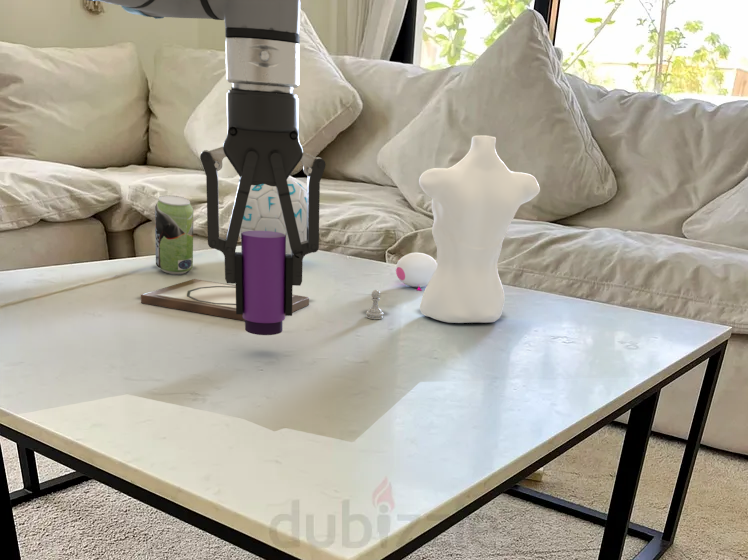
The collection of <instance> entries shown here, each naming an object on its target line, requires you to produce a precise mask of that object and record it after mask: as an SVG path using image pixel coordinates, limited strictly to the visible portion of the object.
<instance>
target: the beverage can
mask: <svg viewBox="0 0 748 560" xmlns="http://www.w3.org/2000/svg"><path fill="white" fill-rule="evenodd" d="M154 226H155V228H154V233H155V235H154V236H155V241H154V242H155V265H156V266H157V268H159V269H160V270H161V271H162V272H164V273H166V274H169V275H183V274H187V272H188V271H190V270H192V269H193V267H194V208H193V206H192V204H191V201H190V200H189V198H186V197H184V196H179V195H172V194H171V195H168V194H167V195H161V196H159V197H158V201H157V202H156V203H155V206H154Z"/></svg>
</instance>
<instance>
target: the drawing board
mask: <svg viewBox="0 0 748 560" xmlns="http://www.w3.org/2000/svg"><path fill="white" fill-rule="evenodd" d="M140 303H142V304H144V305H151V306H156V307H161V308H168V309H174V310H179V311H186V312H191V313H196V314H203V315H208V316H214V317H219V318H226V319H232V320H238V321H242V322H245V319H243V317H242V315H241V314H236V284H231V283H222V282H216V281H210V280H204V279H199V278H192V279H189V280H185V281H182V282H179V283H175V284H172V285H168V286H166V287H161V288H159V289H156V290H152V291H149V292H146V293H142V294H140ZM309 305H310V297H309V296H304V295H298V294H292V313H294V312H296V311H299V310H301V309H303V308H305V307H307V306H309Z"/></svg>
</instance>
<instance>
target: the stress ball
mask: <svg viewBox="0 0 748 560" xmlns="http://www.w3.org/2000/svg"><path fill="white" fill-rule="evenodd" d="M436 268H437V260H436V259H434V257H432V256H431V255H429V254H427V253H424V252H410V253H407V254H405V255H403V256H402V257H401V258H398V261H397V262H396V264H395V275H396V277H397V279H398V280H399V281H400V282H401V283H402V284H404V285H406V286H408V287H412V288H417V289H416V291H423V289H421V288H423V287H424V288H425V287H426V286H427V285H428V283H429V281H430V279H431V278H432V276H433V274H434V272H435V270H436Z"/></svg>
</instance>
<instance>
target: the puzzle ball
mask: <svg viewBox="0 0 748 560" xmlns="http://www.w3.org/2000/svg"><path fill="white" fill-rule="evenodd" d="M287 184H288V188H289V193H290V198H291V202H292V206H293V211H294V215H295V219H296V224H297V228H298V233H299V237H300V241H301V242H303V241H306V240H307V189H305V188H304V187H303V185H302V184H301V183H299V182H296V181H295V180H294V179H292V178H290V177H288V179H287ZM245 231H272V232H278V233H282V234H285V235H286V254H291V247H290V243H289V239H288V235H287V230H286V226H285V222H284V218H283V213H282V209H281V205H280V201H279V197H278V193H277V189H276V186H269V185H266V184H260V185H251V188H250V192H249V195H248V199H247V204H246V208H245V212H244V216H243V220H242V225H241V229H240V233H239V238H240V239H241V233H242V232H245Z"/></svg>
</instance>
